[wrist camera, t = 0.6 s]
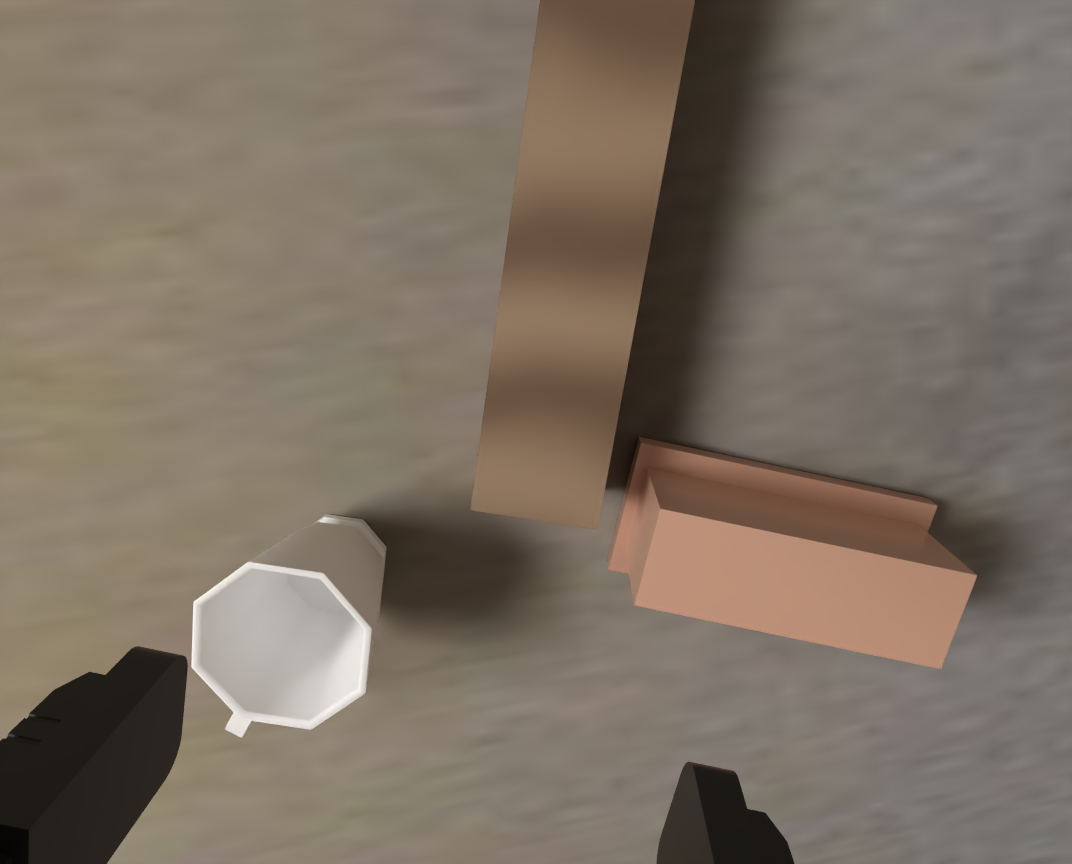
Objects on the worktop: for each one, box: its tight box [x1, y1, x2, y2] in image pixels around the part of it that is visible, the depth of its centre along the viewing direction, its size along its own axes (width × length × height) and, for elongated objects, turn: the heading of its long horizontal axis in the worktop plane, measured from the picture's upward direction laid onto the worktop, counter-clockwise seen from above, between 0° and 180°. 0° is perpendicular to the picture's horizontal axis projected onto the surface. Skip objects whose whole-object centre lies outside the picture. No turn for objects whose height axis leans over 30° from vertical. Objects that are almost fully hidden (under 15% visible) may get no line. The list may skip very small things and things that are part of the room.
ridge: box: [608, 437, 977, 669], centre depth 32 cm, size 6×13×6 cm, turn 78°
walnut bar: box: [470, 0, 695, 530], centre depth 30 cm, size 22×5×5 cm, turn 171°
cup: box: [192, 514, 387, 738], centre depth 33 cm, size 7×10×8 cm
